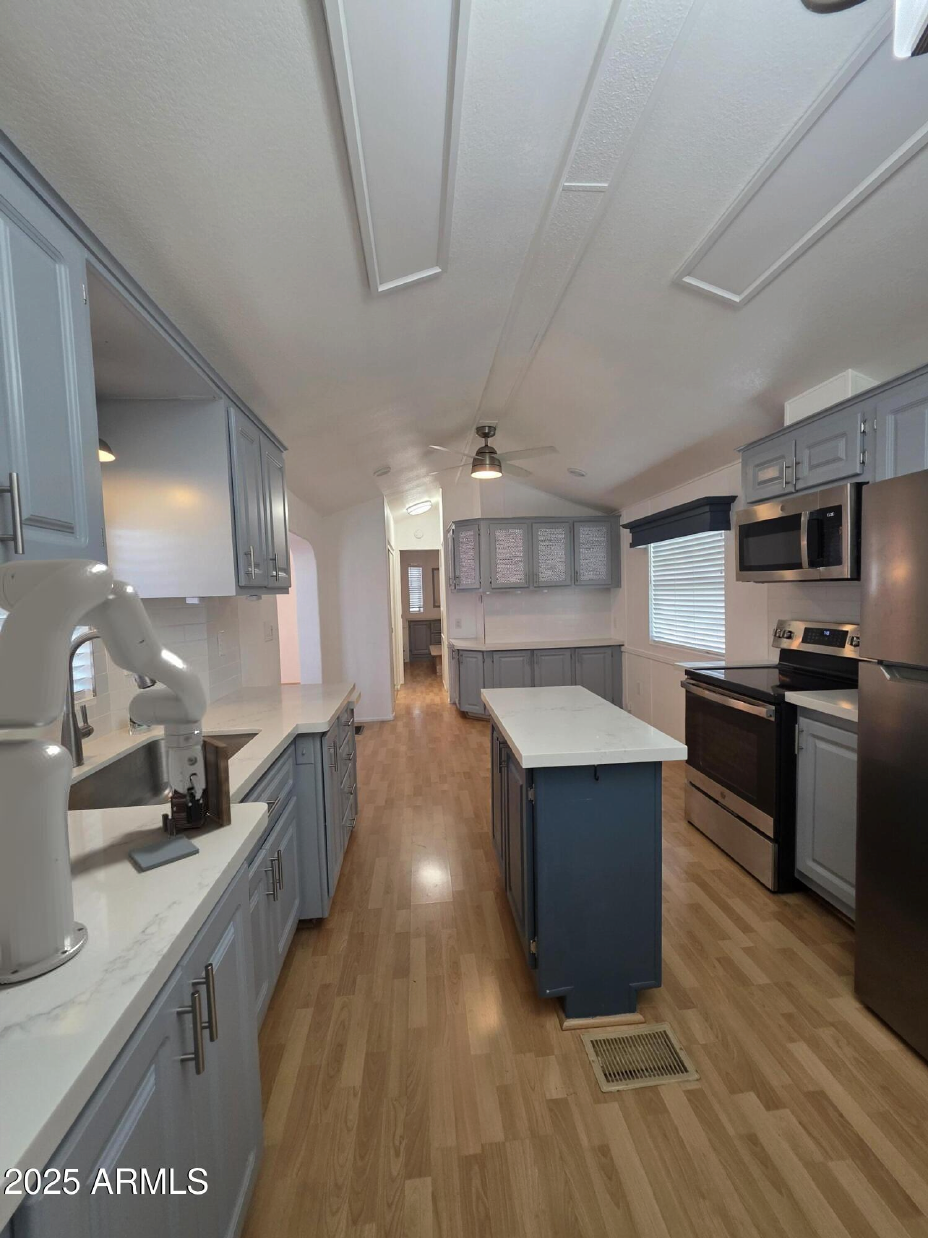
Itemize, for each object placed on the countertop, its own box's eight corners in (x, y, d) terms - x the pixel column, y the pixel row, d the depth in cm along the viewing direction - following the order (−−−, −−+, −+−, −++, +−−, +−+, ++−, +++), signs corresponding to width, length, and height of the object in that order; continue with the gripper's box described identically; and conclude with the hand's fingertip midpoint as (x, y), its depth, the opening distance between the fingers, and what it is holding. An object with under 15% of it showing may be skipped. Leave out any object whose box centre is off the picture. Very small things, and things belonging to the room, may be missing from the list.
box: (171, 830, 119) (169, 797, 119) (179, 819, 125) (178, 787, 124) (200, 827, 120) (199, 794, 120) (208, 816, 126) (206, 785, 126)
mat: (143, 871, 103) (143, 867, 103) (128, 854, 110) (128, 850, 110) (199, 852, 110) (199, 849, 110) (182, 837, 117) (181, 834, 117)
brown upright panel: (175, 841, 115) (171, 757, 114) (157, 825, 123) (153, 747, 122) (231, 824, 123) (227, 745, 122) (211, 810, 132) (207, 736, 131)
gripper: (216, 742, 118) (219, 822, 119) (187, 730, 130) (191, 802, 131) (178, 750, 112) (182, 833, 113) (153, 736, 125) (156, 811, 125)
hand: (187, 816), depth 122 cm, fingers closed on box, 8 cm apart
